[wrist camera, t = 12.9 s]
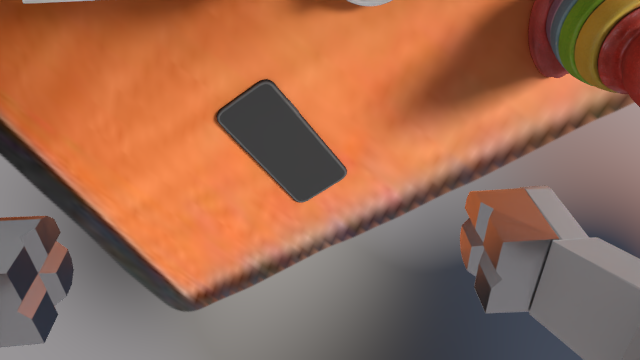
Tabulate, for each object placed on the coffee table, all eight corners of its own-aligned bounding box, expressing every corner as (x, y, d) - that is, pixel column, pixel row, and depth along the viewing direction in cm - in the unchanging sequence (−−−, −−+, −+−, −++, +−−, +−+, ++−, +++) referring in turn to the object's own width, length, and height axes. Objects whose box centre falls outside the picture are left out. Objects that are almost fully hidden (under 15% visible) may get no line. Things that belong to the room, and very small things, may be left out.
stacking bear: (542, 82, 52) (646, 179, 37) (505, 2, 47) (607, 77, 32) (646, 21, 49) (804, 100, 34) (618, -73, 44) (788, -27, 29)
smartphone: (299, 206, 58) (211, 117, 51) (299, 202, 59) (212, 113, 52) (351, 174, 56) (267, 76, 49) (350, 170, 57) (267, 72, 49)
